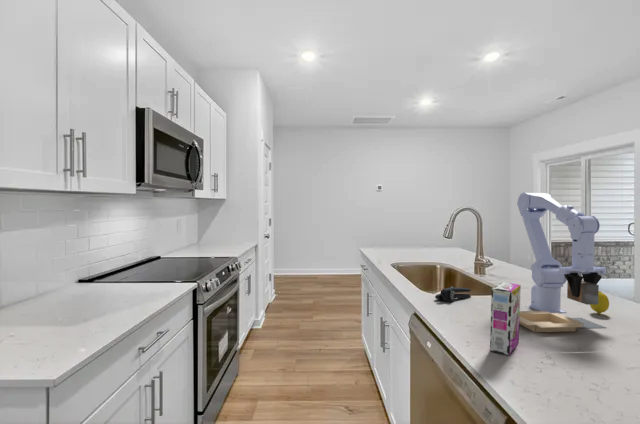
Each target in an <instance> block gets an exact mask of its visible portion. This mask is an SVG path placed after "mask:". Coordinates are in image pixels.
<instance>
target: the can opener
mask: <svg viewBox="0 0 640 424" xmlns="http://www.w3.org/2000/svg"><path fill="white" fill-rule="evenodd" d="M471 291H472V290H471V289H470V288H468V287H454V286H450V287H447V288H442V289H441V290H440V293H438V294H436V295H435V296H434V298H435V299H436V300H438V301H444V302H447V303H452V302H454V301H455V299H462V300H463V299H469V298H471V297H472V295H471V294H469V293H470V292H471Z"/></svg>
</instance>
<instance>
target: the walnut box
mask: <svg viewBox="0 0 640 424" xmlns="http://www.w3.org/2000/svg"><path fill="white" fill-rule="evenodd" d="M566 283H567V287H566V288H567V289H566V291H567V292H566V293H567V294H566V295H567V297H566V298H567V299H569V300H572V301H575V302H577V303H580V304H584V305H587V306H588V305H589V306H590V305H591V304H598V292H599V284H598V283H597V284H593V283H589V282H585V281H584V280H582V282H581V285H580V295H579V297H575V296H572V292H571V289H570V286H569V283H568V282H566Z"/></svg>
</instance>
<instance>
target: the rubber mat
mask: <svg viewBox="0 0 640 424" xmlns="http://www.w3.org/2000/svg"><path fill="white" fill-rule="evenodd" d="M571 318H572V319H574V320H577V321H579V322H582V323H584V324H579V325H581V326H583V327H578V328H579V329H607V327H606V326H604V325H600V324H598V323H595V322H593V321H591V320H588V319H586V318H583V317H571Z"/></svg>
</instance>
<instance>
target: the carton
mask: <svg viewBox="0 0 640 424" xmlns="http://www.w3.org/2000/svg"><path fill="white" fill-rule="evenodd" d="M572 318H573V317H569V316H567V315H564V314H563V313H550V312H547V311H539V310H520V315H519V325H521V326H523V327H525V328H526V329H528V330H530V331H533V332H534V333H558V332H561V333H562V332H577V331H578V330H577V329H578V328H579V327H583V326H581V325H579V324H584V323H582V322H579V321H577V320H574V319H572Z"/></svg>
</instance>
